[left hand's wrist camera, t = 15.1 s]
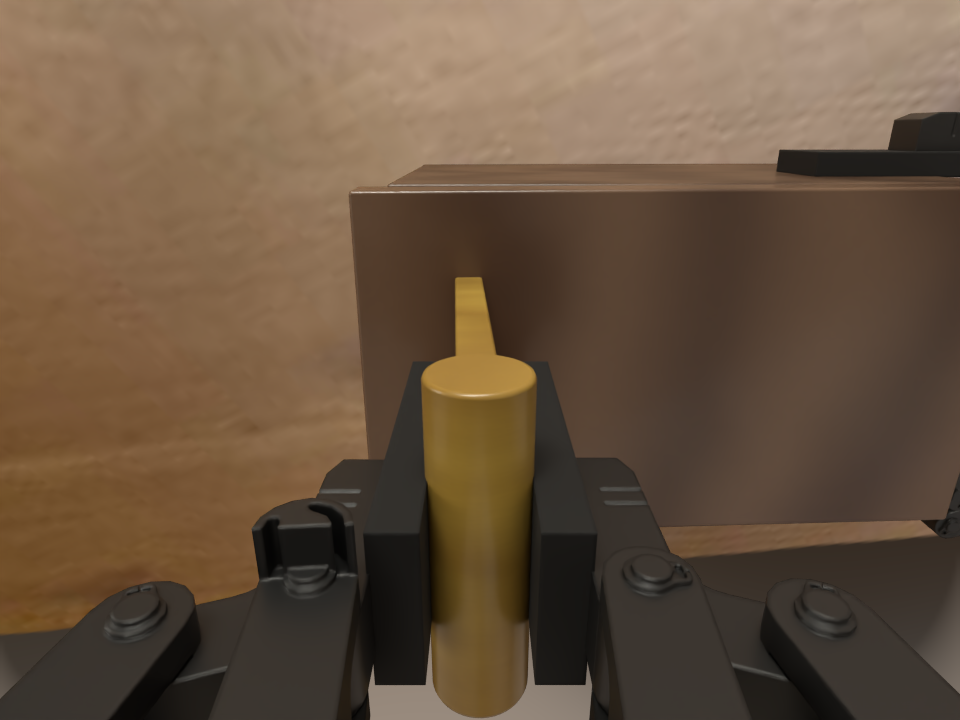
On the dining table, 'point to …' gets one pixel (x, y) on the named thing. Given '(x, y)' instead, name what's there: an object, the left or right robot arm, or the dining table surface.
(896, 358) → the lid
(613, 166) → the chest
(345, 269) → the dining table surface
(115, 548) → the dining table surface
